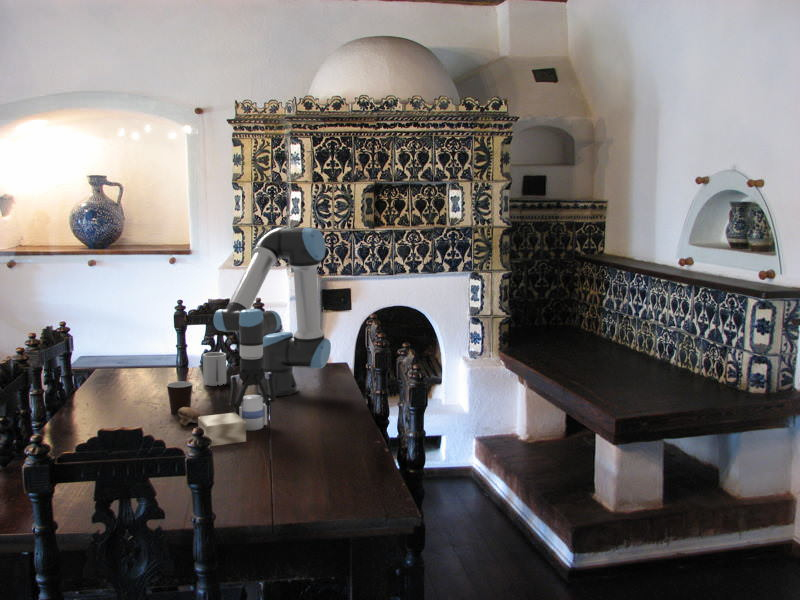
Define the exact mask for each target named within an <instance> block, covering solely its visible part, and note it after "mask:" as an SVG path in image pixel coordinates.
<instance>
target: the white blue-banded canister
mask: <svg viewBox="0 0 800 600" xmlns="http://www.w3.org/2000/svg"><path fill="white" fill-rule="evenodd" d="M263 404H264V400H263V396H262V395H261V394H247V395H244V397H243V399H242V402H241V405H240V407H241V408H242V419H243V420H244V421H245V422H246V431H256V430H257V431H258V430H261V429H263V428H264V424H263V416H264V411H263Z"/></svg>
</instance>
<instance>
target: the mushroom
mask: <svg viewBox="0 0 800 600" xmlns="http://www.w3.org/2000/svg"><path fill="white" fill-rule="evenodd" d="M178 416H179V417H180V420H179V422H180V424H181V425H183V426H187V425H189V424H190V423H193V424H198V417H200V416H201V414H200V412H199V411H198V410H197V409H195V408H192V407H191V406H190V407H182V408H180V409H179V410H178Z"/></svg>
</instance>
